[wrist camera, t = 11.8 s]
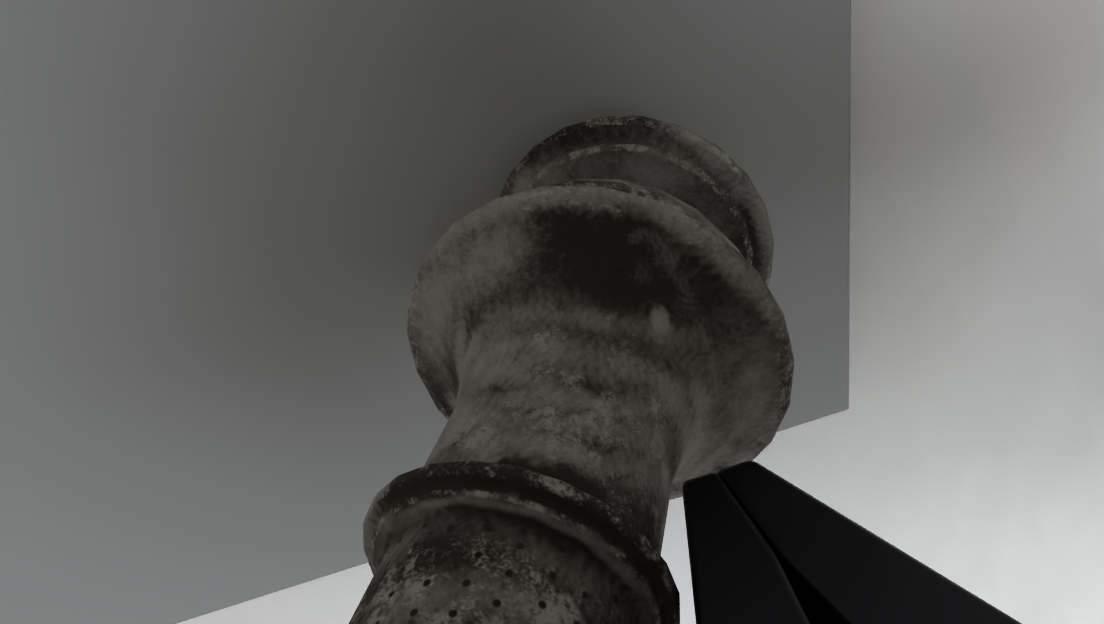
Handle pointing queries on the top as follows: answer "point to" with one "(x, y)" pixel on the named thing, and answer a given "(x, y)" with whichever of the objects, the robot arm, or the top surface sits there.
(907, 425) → the top surface
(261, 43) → the slate mat
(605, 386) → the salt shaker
